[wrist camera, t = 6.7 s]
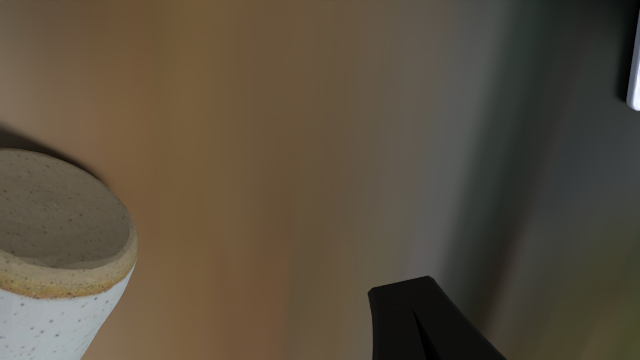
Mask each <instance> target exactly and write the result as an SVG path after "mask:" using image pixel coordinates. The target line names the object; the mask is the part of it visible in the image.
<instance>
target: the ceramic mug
mask: <svg viewBox="0 0 640 360" xmlns="http://www.w3.org/2000/svg"><path fill="white" fill-rule="evenodd" d="M138 250H139V237H138V234H137V230H136V227H135V223H134V221H133V219H132V217H131V215H130V214H129V212H128V210H127V208H126V207H125V205H124V204H123V203H122V202H121V201H120V199H119V198H118V197H117V196H116V195H115V194H114V193H113V192H112V191H111V190H110V189H109V188H108V187H107V186H106V185H105V184H103V183H102V182H101V181H99V180H98V179H96V178H95V177H93V176H92V175H90V174H89V173H87V172H86V171H84V170H82V169H80V168H78V167H76V166H75V165H72V164H70V163H67V162H65V161H62V160H60V159H57V158H54V157H52V156H49V155H46V154H42V153H38V152H33V151H28V150H22V149H13V148H0V360H80V359H81V357H82V355H83V354H84V352H85V351H86V349H87V348H88V346H89V345H90V343H91V341H92V340H93V338H94V336H95V335H96V333H97V331H98V330H99V328H100V326H101V325H102V324H103V322H104V321H105V320H106V318H107V317H108V315H109V314H110V313H111V311H112V310H113V308H114V307H115V305H116V304H117V302H118V301H119V299H120V297H121V295H122V294H123V292H124V290H125V288H126V286H127V283H128V281H129V278H130V276H131V274H132V272H133V270H134V267H135V263H136V260H137V255H138Z"/></svg>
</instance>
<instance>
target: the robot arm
mask: <svg viewBox="0 0 640 360" xmlns="http://www.w3.org/2000/svg"><path fill="white" fill-rule="evenodd" d="M627 104H628V106H629V107H631V108H633V109H635V110H640V11H639V18H638V25H637V32H636V38H635V45H634V52H633V59H632V66H631V72H630V79H629V86H628V93H627ZM368 297H369V303H370V308H371V314H372V324H373V356H372V360H507V359H506V358H505V357H504V356H503V355H502V354H501V353H500V352H499V351H498V350H497V349H496V348H495V347H494V346H493V345H492V344H491V343H490V342H489V341H488V340H487V339H486V338H485V337H484V336H483V335H482V334H481V333H480V332H479V331H478V330H477V329H476V328H475V327H474V326H473V325H472V324H471V323H470V322H469V320H468V319H467V318H466V317H465V316H464V315H463V314H462V313H461V312H460V310H459V309H458V308H457V307H456V306H455V305H454V304H453V302H452V301H451V300H450V299H449V298H448V296H447V295H446V294H445V293H444V292H443V290H442V289H441V288H440V287H439V285H438V284H437V283H436V281H435V280H434V279H433V278H432V277H430V276H424V277H419V278H415V279H410V280H406V281H401V282H397V283H392V284H387V285H383V286H378V287H374V288H372V289H371V290H370V291H369V292H368Z"/></svg>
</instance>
